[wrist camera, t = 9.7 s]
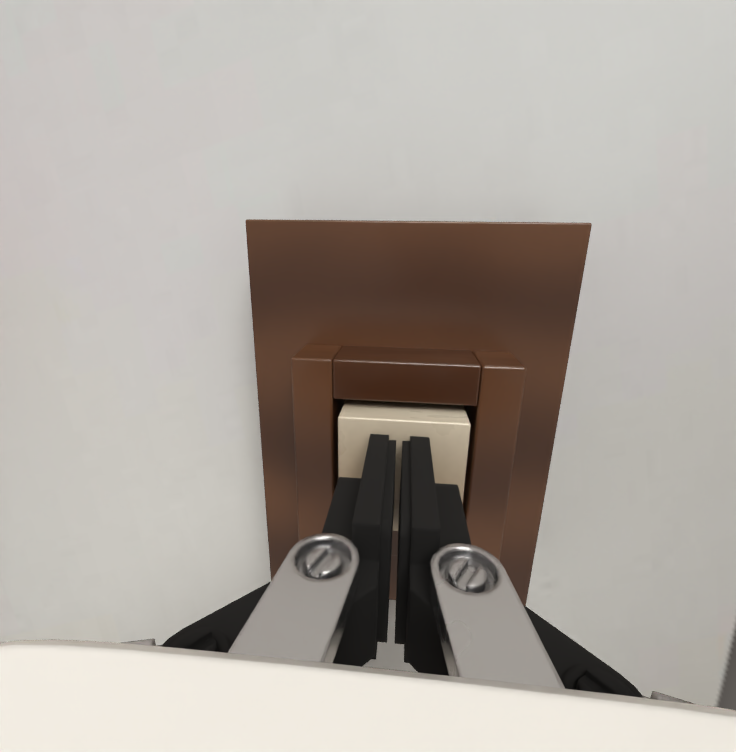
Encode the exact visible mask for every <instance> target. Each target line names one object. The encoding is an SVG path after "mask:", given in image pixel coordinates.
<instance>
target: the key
mask: <svg viewBox="0 0 736 752" xmlns="http://www.w3.org/2000/svg"><path fill="white" fill-rule="evenodd" d="M470 427H471V425H470V422H469V419H468V416H467V414H466V411H465V408H464V405H448V404H428V403H408V402H388V401H368V400H348V399H346V400H345V402H344V405H343V407H342V409H341V412H340V414H339V416H338V479H339V477H349V478H361V477H362V472H363V467H364V462H365V457H366V452H367V447H368V443H369V438H370V434H383V435H389V440H396V461H395V485H394V509H393V531H398V525H399V503H400V482H401V461H402V441H410V436H418V437H429V438H430V446H431V454H432V462H433V470H434V479H435V483H441V484H456V485H458V487H459V491H460V496H461V500H462V505H463V495H464V486H465V476H466V466H467V456H468V447H469V437H470Z"/></svg>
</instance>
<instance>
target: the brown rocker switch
mask: <svg viewBox="0 0 736 752" xmlns="http://www.w3.org/2000/svg"><path fill="white" fill-rule="evenodd" d="M590 231H591V223H548V222H448V221H347V220H246V233H247V247H248V261H249V275H250V289H251V303H252V317H253V331H254V345H255V359H256V373H257V388H258V402H259V416H260V430H261V444H262V458H263V472H264V486H265V500H266V514H267V528H268V542H269V556H270V570H271V581H272V579H273V577H274V576H275V574H276V573H277V571H278V569H279V568H280V566H281V564H282V563H283V561H284V560H285V558H286V556H287V555H288V553H289V551H290V550H291V549H292V548H293V546H294V545H295V544H296V543H297V542H299V541H300V540H302V539H303V538H305V537H308V536H311V535H314V534H320V533H322V530H323V527H324V524H325V521H326V517H327V514H328V511H329V508H330V504H331V501H332V498H333V494H334V491H335V488H336V485H337V481H338V416H339V414H340V412H341V409H342V407H343V405H344V402H345V400H346V399H348V400H368V401H388V402H408V403H428V404H448V405H464V408H465V411H466V414H467V416H468V419H469V422H470V425H471V427H470V437H469V447H468V456H467V466H466V476H465V486H464V495H463V509H464V514H465V518H466V522H467V527H468V531H469V536H470V540H471V545H474V546H477V547H480V548H482V549H484V550H486V551H488V552H490V553H491V554H492V555H493V556H494V557H496V558H497V559H498V560H499V561H500V563H501V564H502V566H503V567H504V569H505V571H506V573H507V575H508V577H509V578H510V580H511V582H512V584H513V586H514V588H515V590H516V592H517V594H518V596H519V598H520V600H521V602H522V604H523V605H524V606H525V605H526V600H527V594H528V588H529V582H530V577H531V571H532V565H533V559H534V554H535V548H536V542H537V536H538V530H539V525H540V519H541V513H542V507H543V502H544V496H545V490H546V484H547V479H548V473H549V467H550V461H551V456H552V450H553V444H554V438H555V432H556V427H557V421H558V415H559V409H560V404H561V398H562V392H563V386H564V381H565V375H566V369H567V363H568V358H569V352H570V346H571V340H572V334H573V329H574V323H575V317H576V311H577V306H578V300H579V294H580V288H581V283H582V277H583V271H584V265H585V260H586V254H587V248H588V242H589V237H590ZM397 555H398V531H393V532H392V552H391V571H390V591H389V599H390V600H396V588H397Z"/></svg>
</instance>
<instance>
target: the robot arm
mask: <svg viewBox="0 0 736 752" xmlns="http://www.w3.org/2000/svg"><path fill="white" fill-rule="evenodd" d="M395 461H396V440H389V435H383V434H370V438H369V443H368V447H367V452H366V457H365V462H364V467H363V472H362V477H361V478H349V477H339V479H338V481H337V485H336V488H335V491H334V494H333V498H332V501H331V504H330V508H329V511H328V514H327V517H326V521H325V524H324V527H323V530H322V533H320V534H314V535H311V536H308V537H305V538H303V539H302V540H300V541H299V542H297V543H296V544H295V545H294V546H293V548H292V549H291V550H290V551H289V553H288V555H287V556H286V558H285V560H284V561H283V563H282V564H281V566H280V568H279V569H278V571H277V573H276V574H275V576H274V577H273V579H272V581H271V582H269V583H267V584H266V585H264V586H262V587H260V588H258V589H256V590H254V591H253V592H251V593H249V594H247V595H245V596H243V597H241V598H240V599H238V600H236V601H234V602H232V603H230V604H228V605H227V606H225V607H223V608H221V609H219V610H217V611H215V612H214V613H212V614H210V615H208V616H206V617H204V618H202V619H201V620H199V621H197V622H195V623H193V624H191V625H189V626H188V627H186V628H184V629H182V630H180V631H179V632H178V633H176V634H175V635H173V636H172V637H170V638H169V639H168V640H167V641H166V642H165V643H164V644H163V645H157V646H156V644H155V639H147V640H138V641H130V642H122V643H112V642H97V641H77V640H56V639H50V640H20V641H9V642H1V643H0V752H736V710H730V709H725V708H718V707H711V706H704V705H697V704H694V703H691V702H687V701H684V700H681V699H678V698H674V697H671V696H668V695H665V694H661V693H658V692H655V691H652V694H651V698H648V697H645V696H642V695H641V693H640V692H639V691H638V690H637V689H636V687H635V686H634V685H632V684H631V683H630V682H629V681H628V680H626V679H625V678H624V677H623V676H622V675H621V674H619V673H618V672H616V671H615V670H614V669H612V668H611V667H609V666H608V665H607V664H605V663H604V662H602V661H601V660H600V659H598V658H597V657H595V656H594V655H593V654H591V653H590V652H588V651H587V650H586V649H584V648H583V647H582V646H580V645H579V644H577V643H576V642H575V641H573V640H572V639H570V638H569V637H568V636H566V635H565V634H563V633H562V632H561V631H559V630H558V629H556V628H555V627H554V626H552V625H551V624H549V623H548V622H547V621H545V620H544V619H542V618H541V617H540V616H538V615H537V614H535V613H534V612H533V611H531V610H530V609H528V608H527V607H526V606H524V605H523V604H522V602H521V600H520V598H519V596H518V594H517V592H516V590H515V588H514V586H513V584H512V582H511V580H510V578H509V577H508V575H507V573H506V571H505V569H504V567H503V566H502V564H501V563H500V561H499V560H498V559H497V558H496V557H494V556H493V555H492V554H491V553H490V552H488V551H486V550H484V549H482V548H480V547H477V546H474V545H471V540H470V536H469V531H468V527H467V522H466V518H465V514H464V509H463V505H462V500H461V496H460V491H459V487H458V485H456V484H441V483H435V479H434V470H433V462H432V454H431V446H430V438H429V437H418V436H410V441H402V461H401V482H400V503H399V525H398V555H397V588H396V620H395V643H396V644H404V662H406V663H410V664H411V665H412V666H413V667H414V669H415V670H416V671H417V672H408V671H399V670H390V669H380V668H371V667H362V666H363V665H364V664H366V663H367V662H368V661H369V660H371V659H376V653H377V642H386V643H387V630H388V610H389V591H390V571H391V552H392V532H393V509H394V485H395Z"/></svg>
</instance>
